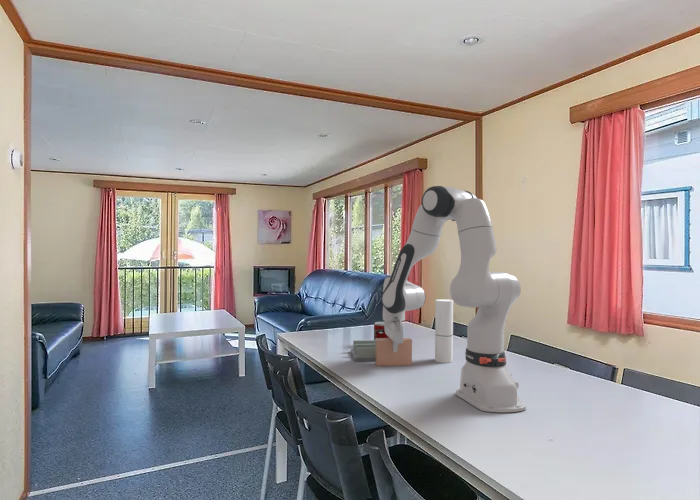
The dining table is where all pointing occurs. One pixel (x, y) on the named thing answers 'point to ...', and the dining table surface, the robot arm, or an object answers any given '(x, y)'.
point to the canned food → (379, 330)
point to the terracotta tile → (390, 358)
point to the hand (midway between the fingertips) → (393, 350)
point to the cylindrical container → (444, 331)
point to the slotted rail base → (363, 350)
